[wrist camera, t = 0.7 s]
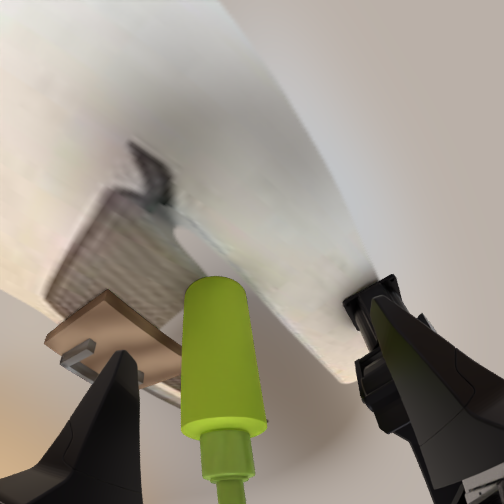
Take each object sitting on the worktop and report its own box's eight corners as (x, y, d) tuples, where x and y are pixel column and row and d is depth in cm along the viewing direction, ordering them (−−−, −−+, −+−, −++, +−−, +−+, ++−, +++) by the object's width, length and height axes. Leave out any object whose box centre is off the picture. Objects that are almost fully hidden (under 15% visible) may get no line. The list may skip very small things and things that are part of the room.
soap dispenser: (184, 324, 29) (187, 522, 13) (185, 273, 25) (184, 524, 9) (240, 326, 30) (267, 518, 14) (251, 277, 26) (295, 515, 10)
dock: (198, 357, 33) (198, 378, 30) (126, 385, 36) (123, 402, 34) (107, 289, 25) (100, 312, 23) (47, 334, 28) (40, 353, 26)
